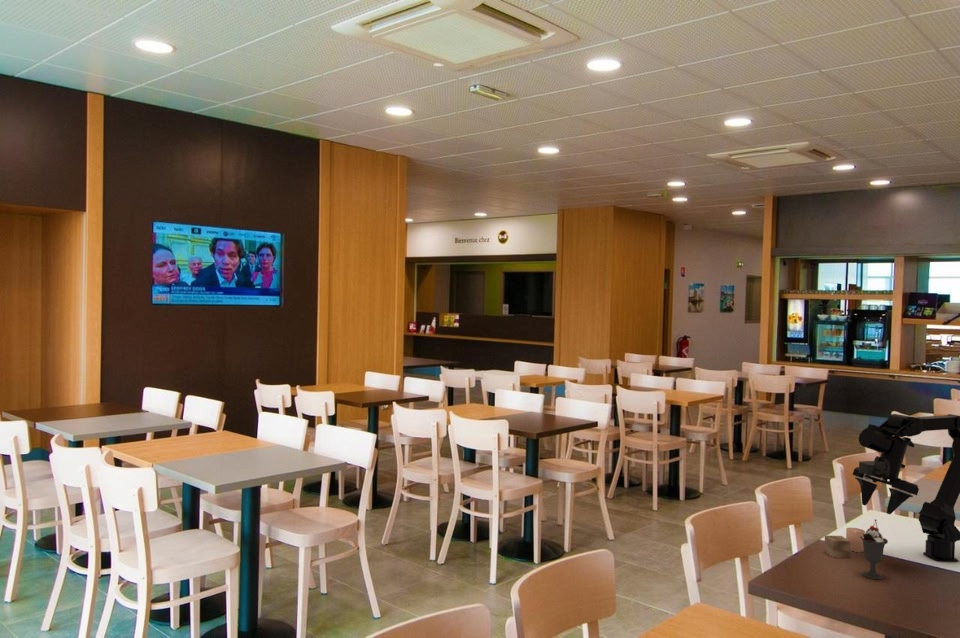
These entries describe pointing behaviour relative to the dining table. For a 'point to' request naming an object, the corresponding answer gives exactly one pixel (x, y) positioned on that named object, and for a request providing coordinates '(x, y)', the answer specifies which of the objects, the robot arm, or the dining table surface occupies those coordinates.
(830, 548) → the walnut block
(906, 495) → the robot arm
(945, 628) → the dining table surface
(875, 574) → the sundae
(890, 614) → the dining table surface
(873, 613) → the dining table surface
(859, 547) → the pink block
